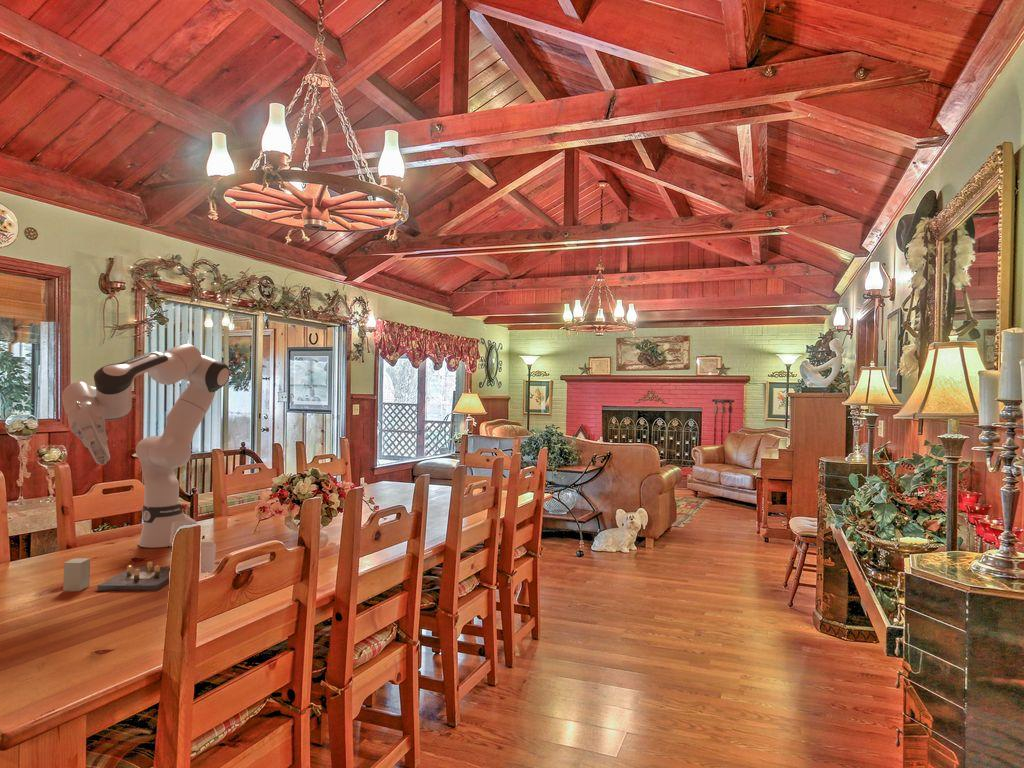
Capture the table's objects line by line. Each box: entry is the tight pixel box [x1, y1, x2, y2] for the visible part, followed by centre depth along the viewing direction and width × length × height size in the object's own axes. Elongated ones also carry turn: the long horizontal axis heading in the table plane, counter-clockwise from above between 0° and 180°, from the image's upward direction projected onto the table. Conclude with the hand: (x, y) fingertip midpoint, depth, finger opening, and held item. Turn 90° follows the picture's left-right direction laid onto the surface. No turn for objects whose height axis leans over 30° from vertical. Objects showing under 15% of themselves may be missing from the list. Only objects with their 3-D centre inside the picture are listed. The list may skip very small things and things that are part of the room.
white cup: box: [200, 541, 217, 577], centre depth 191 cm, size 8×8×10 cm
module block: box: [62, 557, 91, 592], centre depth 179 cm, size 4×4×8 cm
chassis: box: [97, 561, 171, 592], centre depth 187 cm, size 18×16×4 cm
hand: (97, 453), depth 182 cm, fingers open, 8 cm apart
